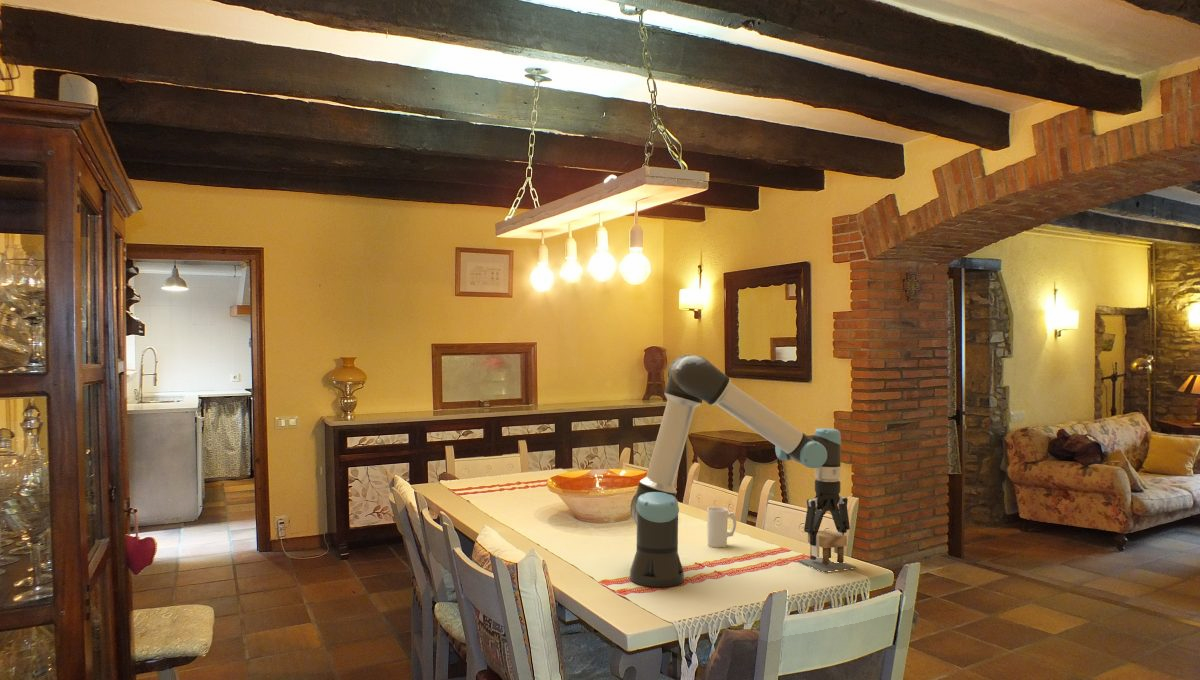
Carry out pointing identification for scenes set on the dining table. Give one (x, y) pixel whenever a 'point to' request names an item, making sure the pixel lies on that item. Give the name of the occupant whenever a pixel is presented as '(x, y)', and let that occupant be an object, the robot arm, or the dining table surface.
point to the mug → (719, 526)
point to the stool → (830, 545)
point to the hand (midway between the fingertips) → (826, 554)
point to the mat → (825, 568)
